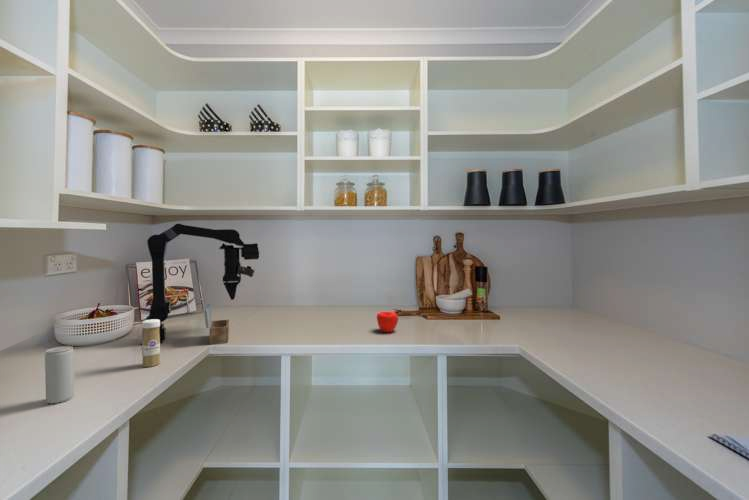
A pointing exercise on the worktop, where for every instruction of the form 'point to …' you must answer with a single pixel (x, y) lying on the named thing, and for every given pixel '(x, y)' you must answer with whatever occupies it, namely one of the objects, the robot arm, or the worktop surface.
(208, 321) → the box lid
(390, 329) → the apple
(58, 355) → the beverage can
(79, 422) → the worktop surface
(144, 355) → the sprinkles bottle
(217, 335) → the walnut box
